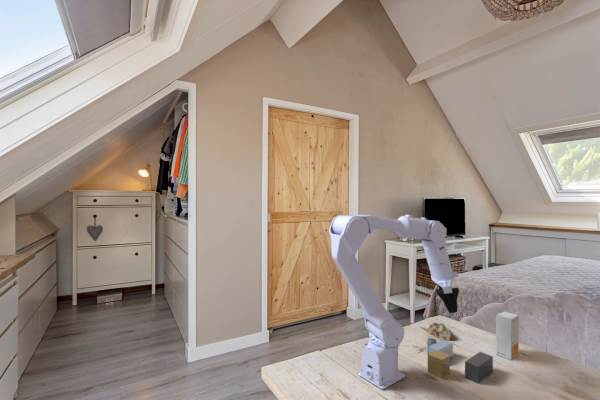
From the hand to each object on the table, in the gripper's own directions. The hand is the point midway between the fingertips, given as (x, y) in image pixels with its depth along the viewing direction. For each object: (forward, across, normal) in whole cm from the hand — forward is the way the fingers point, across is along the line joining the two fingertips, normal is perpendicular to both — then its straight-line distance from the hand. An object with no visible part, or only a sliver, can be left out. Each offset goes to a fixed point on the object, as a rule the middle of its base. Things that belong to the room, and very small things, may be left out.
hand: (450, 305), depth 86 cm
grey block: (+16, -7, -2) cm, 18 cm away
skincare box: (+22, +8, -12) cm, 27 cm away
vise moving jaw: (+15, -1, +7) cm, 17 cm away
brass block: (+13, -10, +8) cm, 18 cm away
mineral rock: (+20, +17, +5) cm, 27 cm away
